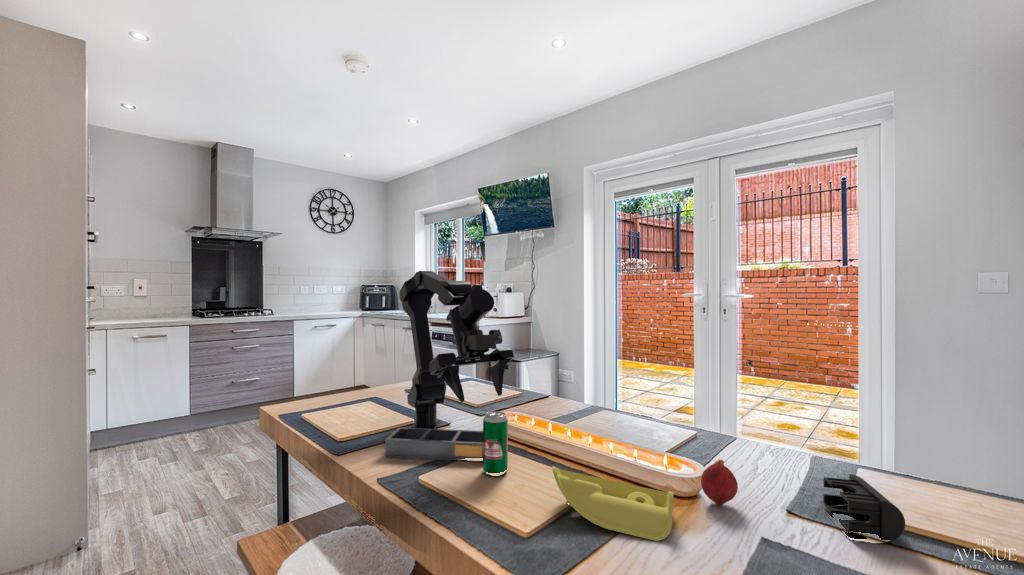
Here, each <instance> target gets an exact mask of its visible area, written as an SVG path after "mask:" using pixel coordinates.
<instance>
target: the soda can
mask: <svg viewBox="0 0 1024 575" xmlns="http://www.w3.org/2000/svg"><path fill="white" fill-rule="evenodd" d="M506 415H507V413H506V412H503V411H497V410H496V411H495V410H493V411H488V412H486V413H484V418H483V419H482V431H483V462H482V470H484V471H485V472H488V473H500V472H504V471H505V470H507V468H509V467H508V463H509V461H508V459H509V457H508V456H509V454H508V452H509V443H508V442H509V441H508V439H509V438H508V437H509V435H508V434H509V428H508V425H509V418H508V417H507V416H506ZM484 471H483V472H484ZM507 471H508V470H507Z"/></svg>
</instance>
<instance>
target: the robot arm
mask: <svg viewBox="0 0 1024 575" xmlns="http://www.w3.org/2000/svg"><path fill="white" fill-rule="evenodd" d="M398 295H399V296H398V297H399V300H400V302H401V305H402V310H403V311H404V312H405V313H406V315H407V316H408V317H409V321H410V322H409V323H410V327H411V334H412V335H411V336H412V344H413V349H414V350H413V351H414V356H415V357H414V358H415V363H416V365H415V366H416V370H415V372H414V375H413V377H412V379H411V382H412V385H411V388H410V389H409V392H408V394H407V395H406V396H407V397H406V398H407V404H408V405H409V406H411V407H412V408H414V424H412V425H411V426H410V428H423V429H437V428H438V427H439V425H440V424H441V421H440V420H437V417H438V416H437V413H438V412H437V404H444V402H445V399H446V391H447V386H448V387H449V388H450V390H451V391H452V393H453V394H454V395H455V396H456V398H457V399H458V400H459V401H460V403H464V402H465V395H464V394H465V393H464V389H463V385H462V382H461V379H460V367H462V366H470V365H471V366H472V365H478V364H479V365H480V364H487V365H488V366H489V367H490V368H488V372H489V375H490V378H491V381H492V384H493V387H494V390H495V392H496V394H497V396H498V397H500V396H503V386H504V376H505V375H504V374H505V370H506V367H507V366H508V365H509V364H510V363H511V361H512V360H513V359H515V353H514V351H513V349H512V348H511V347H508V346H507V347H498V348H497V345H501V344H503V335H502V332H501V329H490V330H489V332H488V334H484V332H483V330H482V329H479V327H478V323H479V322H480V321H481V320H482V319H483V318H484V317H486V315H487V314H489V313H490V312H491V311H492V309H494V306H495V300H494V297H493V296H492V295H491V293H490V292H489V291H488V290H486V289H484V288H483V285H482V284H473V285H472V283H471V282H470V281H467V280H451V279H448V278H447V277H444V276H442V275H440V274H437V273H436V272H435V271H432V270H418V271H415V274H414V275H413V276H412V277H411V278H409V279H408V280H406V281H404V283H403V284H402V286H401V288H400V290H399V294H398ZM435 295H438V296H437V300H438V301H439V302H440V303H441V304H442V305H443V306H447V307H448V306H455V307H454V308H451V309H449V312H448V314H447V315H446V318H445V319H446V321H447V322H450V325H451V330H452V334H453V339H452V340H451V342H452V345H454V346H455V347H456V351H457V355H456V354H455V353H454V352H446V353H438V354H437V355H436V356H434V351H433V350H434V349H433V344H432V338H431V332H430V324H429V318H428V312H429V310H430V307H431V306H432V298H434V296H435ZM490 350H492V351H491V352H490V353H488V352H489V351H490ZM485 353H486V354H485ZM446 385H447V386H446ZM439 423H440V424H439ZM438 424H439V425H438ZM436 427H437V428H436Z"/></svg>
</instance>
